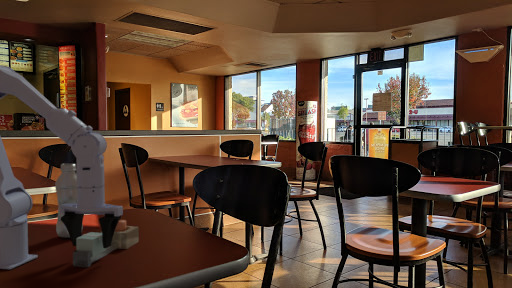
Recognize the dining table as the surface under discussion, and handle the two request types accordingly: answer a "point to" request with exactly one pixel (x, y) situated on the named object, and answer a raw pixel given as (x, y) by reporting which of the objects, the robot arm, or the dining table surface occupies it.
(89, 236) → the block
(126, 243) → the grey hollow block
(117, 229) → the button
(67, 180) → the plastic bottle
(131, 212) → the dining table surface
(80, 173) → the robot arm
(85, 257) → the rail
